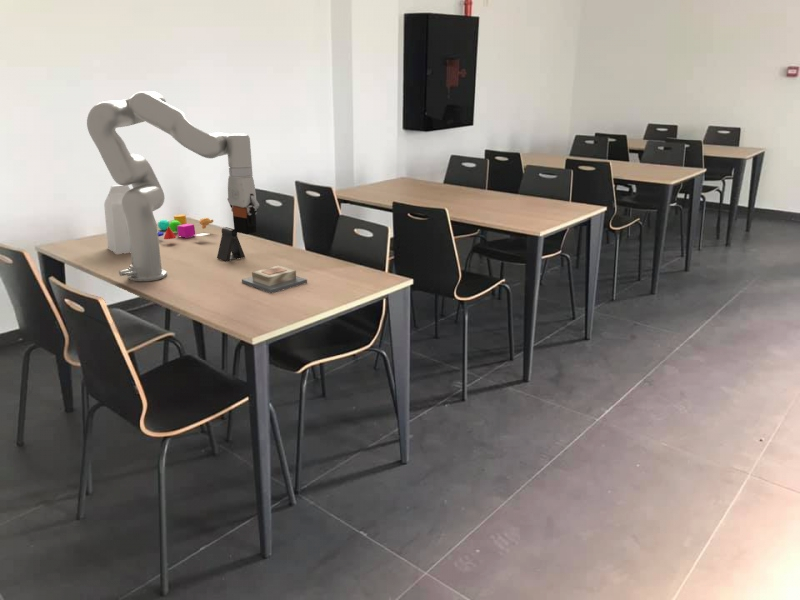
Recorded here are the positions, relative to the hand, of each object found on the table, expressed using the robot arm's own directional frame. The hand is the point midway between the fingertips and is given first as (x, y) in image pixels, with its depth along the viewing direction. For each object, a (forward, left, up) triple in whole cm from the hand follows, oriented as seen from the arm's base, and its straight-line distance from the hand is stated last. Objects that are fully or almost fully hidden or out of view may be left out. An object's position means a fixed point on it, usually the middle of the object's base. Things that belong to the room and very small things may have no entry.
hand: (244, 224), depth 215 cm
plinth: (+5, -8, -19) cm, 21 cm away
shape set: (+18, +74, -21) cm, 79 cm away
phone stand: (+13, +29, -21) cm, 38 cm away
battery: (0, 0, -3) cm, 3 cm away
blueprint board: (+5, -8, -20) cm, 23 cm away
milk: (-9, +69, -21) cm, 72 cm away
